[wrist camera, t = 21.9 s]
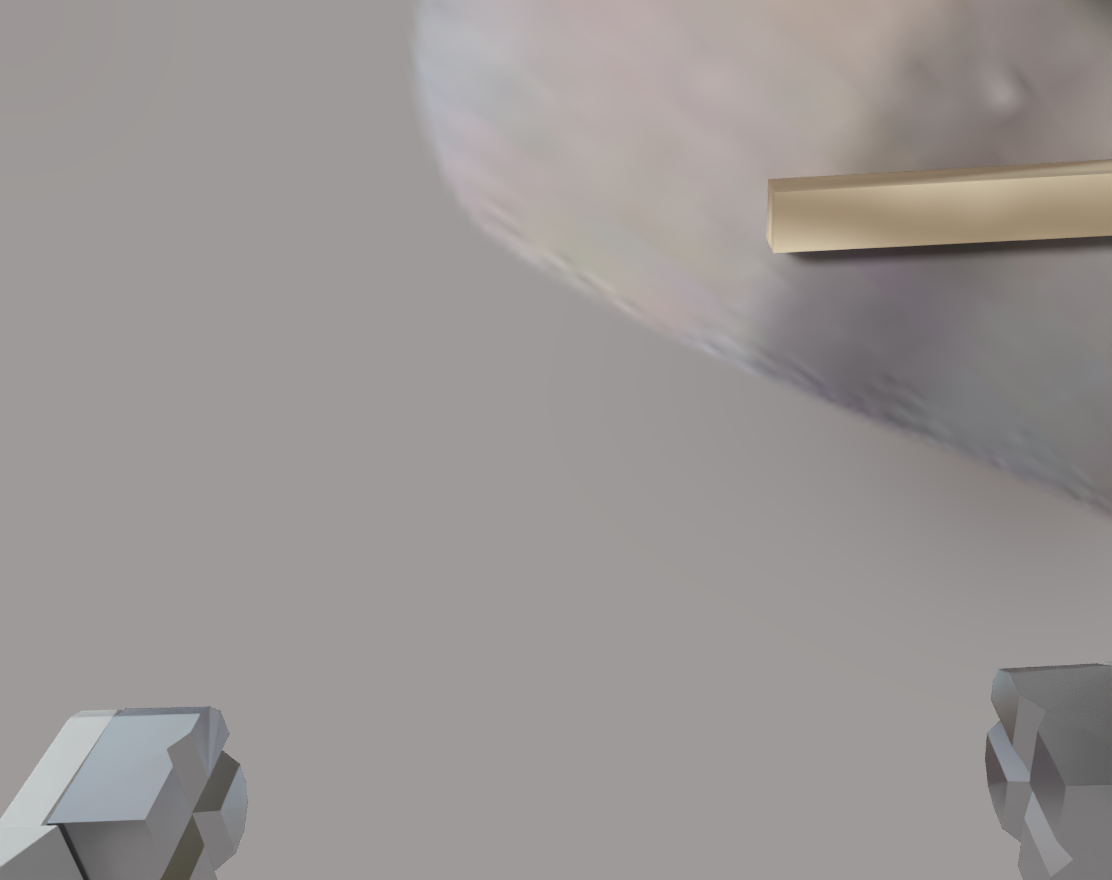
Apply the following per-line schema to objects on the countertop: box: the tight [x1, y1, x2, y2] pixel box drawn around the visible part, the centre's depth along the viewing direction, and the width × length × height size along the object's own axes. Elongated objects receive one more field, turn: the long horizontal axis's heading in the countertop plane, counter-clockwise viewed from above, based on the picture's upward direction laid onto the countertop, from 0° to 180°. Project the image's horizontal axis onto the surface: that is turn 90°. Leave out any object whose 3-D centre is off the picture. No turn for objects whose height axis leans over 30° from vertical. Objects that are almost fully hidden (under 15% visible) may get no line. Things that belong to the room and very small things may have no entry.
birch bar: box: [767, 159, 1112, 253], centre depth 40 cm, size 2×20×2 cm, turn 94°
